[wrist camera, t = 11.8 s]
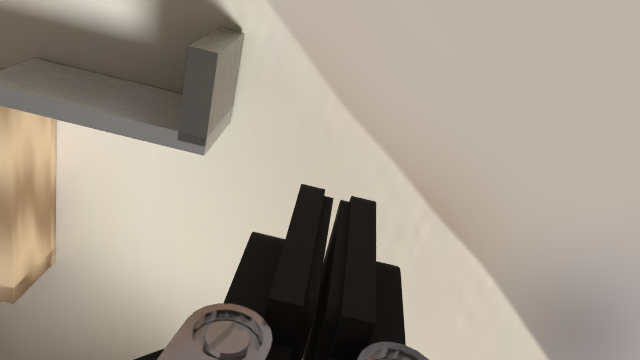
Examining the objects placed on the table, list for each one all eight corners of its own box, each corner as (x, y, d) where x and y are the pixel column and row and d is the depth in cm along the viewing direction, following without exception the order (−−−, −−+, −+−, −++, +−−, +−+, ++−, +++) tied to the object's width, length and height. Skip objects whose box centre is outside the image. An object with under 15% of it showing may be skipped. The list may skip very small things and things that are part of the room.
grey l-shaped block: (230, 121, 27) (204, 155, 23) (34, 73, 27) (-28, 99, 22) (244, 33, 25) (218, 53, 21) (33, -19, 25) (-35, -9, 21)
